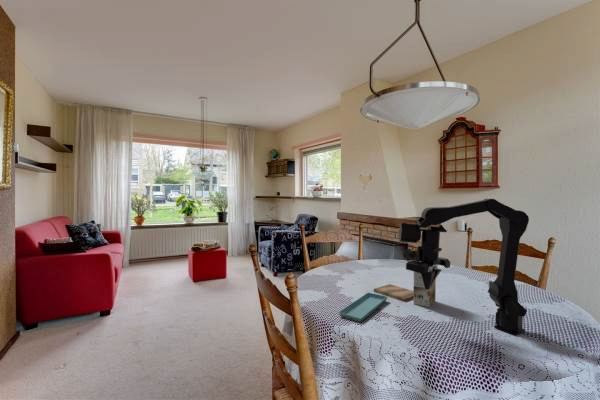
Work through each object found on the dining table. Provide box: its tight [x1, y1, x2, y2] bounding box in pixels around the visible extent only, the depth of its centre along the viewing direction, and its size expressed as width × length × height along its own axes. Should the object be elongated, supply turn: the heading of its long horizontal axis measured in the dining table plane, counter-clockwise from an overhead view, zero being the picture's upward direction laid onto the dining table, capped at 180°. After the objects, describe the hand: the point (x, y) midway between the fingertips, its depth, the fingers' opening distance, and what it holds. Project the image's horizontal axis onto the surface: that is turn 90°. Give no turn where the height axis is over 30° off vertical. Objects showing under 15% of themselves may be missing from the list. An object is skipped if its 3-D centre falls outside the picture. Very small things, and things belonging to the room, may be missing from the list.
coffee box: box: [412, 271, 437, 308], centre depth 122 cm, size 9×6×16 cm
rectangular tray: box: [338, 292, 389, 323], centre depth 116 cm, size 26×9×2 cm, turn 143°
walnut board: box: [373, 283, 414, 302], centre depth 133 cm, size 16×12×1 cm
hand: (427, 289), depth 102 cm, fingers closed
